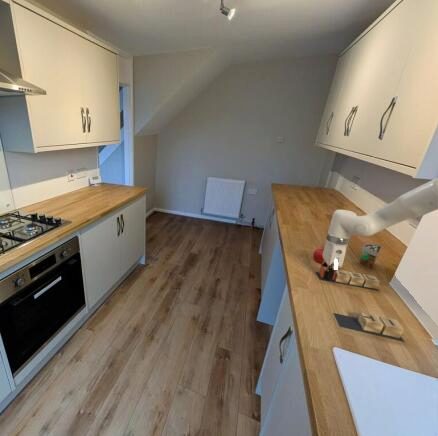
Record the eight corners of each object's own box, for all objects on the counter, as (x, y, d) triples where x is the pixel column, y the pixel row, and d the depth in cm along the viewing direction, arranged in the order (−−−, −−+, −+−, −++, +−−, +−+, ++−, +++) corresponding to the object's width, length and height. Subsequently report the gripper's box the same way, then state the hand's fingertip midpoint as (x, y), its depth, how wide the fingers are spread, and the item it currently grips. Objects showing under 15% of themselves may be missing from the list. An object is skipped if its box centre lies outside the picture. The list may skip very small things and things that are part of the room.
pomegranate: (307, 259, 122) (311, 243, 119) (320, 256, 125) (325, 240, 122) (326, 269, 113) (332, 252, 110) (340, 265, 117) (346, 248, 114)
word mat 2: (392, 327, 80) (393, 326, 80) (404, 343, 74) (405, 342, 74) (332, 314, 86) (333, 312, 85) (339, 328, 80) (339, 326, 79)
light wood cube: (371, 283, 102) (374, 275, 101) (376, 289, 99) (379, 281, 97) (359, 280, 104) (362, 273, 103) (363, 286, 100) (366, 279, 99)
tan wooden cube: (373, 324, 81) (377, 315, 79) (380, 333, 77) (384, 324, 75) (357, 320, 82) (361, 311, 81) (363, 329, 78) (367, 321, 77)
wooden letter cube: (357, 280, 104) (360, 273, 103) (362, 286, 100) (364, 278, 99) (345, 278, 106) (348, 271, 104) (349, 284, 102) (352, 276, 100)
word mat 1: (370, 282, 104) (371, 281, 103) (378, 292, 98) (379, 291, 97) (314, 272, 111) (315, 271, 110) (319, 281, 105) (319, 279, 104)
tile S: (330, 274, 107) (332, 267, 106) (333, 279, 103) (335, 272, 102) (318, 272, 109) (320, 265, 107) (321, 277, 105) (323, 270, 104)
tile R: (343, 278, 106) (346, 271, 104) (347, 283, 102) (350, 276, 101) (332, 276, 107) (334, 269, 106) (335, 281, 103) (337, 274, 102)
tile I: (392, 328, 79) (396, 319, 78) (399, 338, 75) (404, 329, 74) (375, 324, 80) (379, 315, 79) (382, 334, 76) (386, 325, 75)
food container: (359, 257, 124) (365, 240, 121) (375, 262, 120) (382, 244, 116) (354, 265, 117) (360, 247, 113) (370, 271, 112) (377, 252, 109)
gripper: (356, 249, 91) (342, 288, 97) (341, 232, 106) (329, 268, 112) (333, 245, 94) (321, 284, 100) (321, 230, 108) (311, 265, 115)
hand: (325, 275), depth 106 cm, fingers closed on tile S, 4 cm apart
